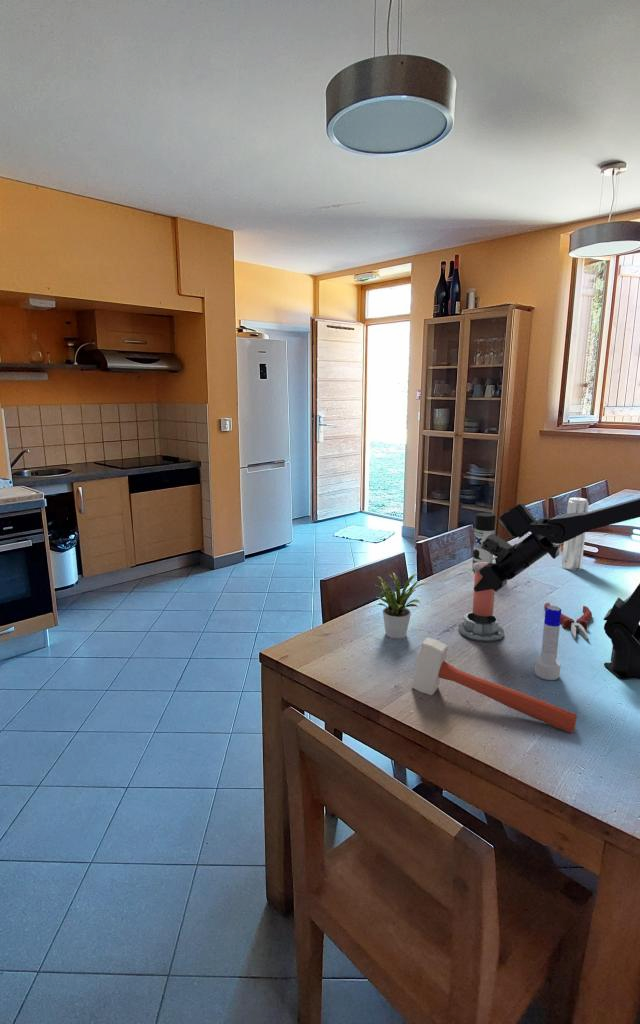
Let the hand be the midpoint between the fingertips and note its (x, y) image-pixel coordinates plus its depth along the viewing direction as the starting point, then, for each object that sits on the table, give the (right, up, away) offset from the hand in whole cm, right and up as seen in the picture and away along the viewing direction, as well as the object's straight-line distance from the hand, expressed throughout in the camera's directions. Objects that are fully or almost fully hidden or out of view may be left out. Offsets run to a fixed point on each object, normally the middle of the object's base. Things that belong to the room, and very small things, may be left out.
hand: (478, 587), depth 136 cm
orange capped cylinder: (+1, -7, +1) cm, 7 cm away
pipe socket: (+1, -12, +2) cm, 12 cm away
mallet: (-7, -20, -31) cm, 38 cm away
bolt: (+9, -17, -19) cm, 27 cm away
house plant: (-20, -12, +1) cm, 23 cm away
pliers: (+26, -11, +8) cm, 29 cm away
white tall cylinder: (+49, -1, +54) cm, 73 cm away
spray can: (+16, -1, +51) cm, 54 cm away
